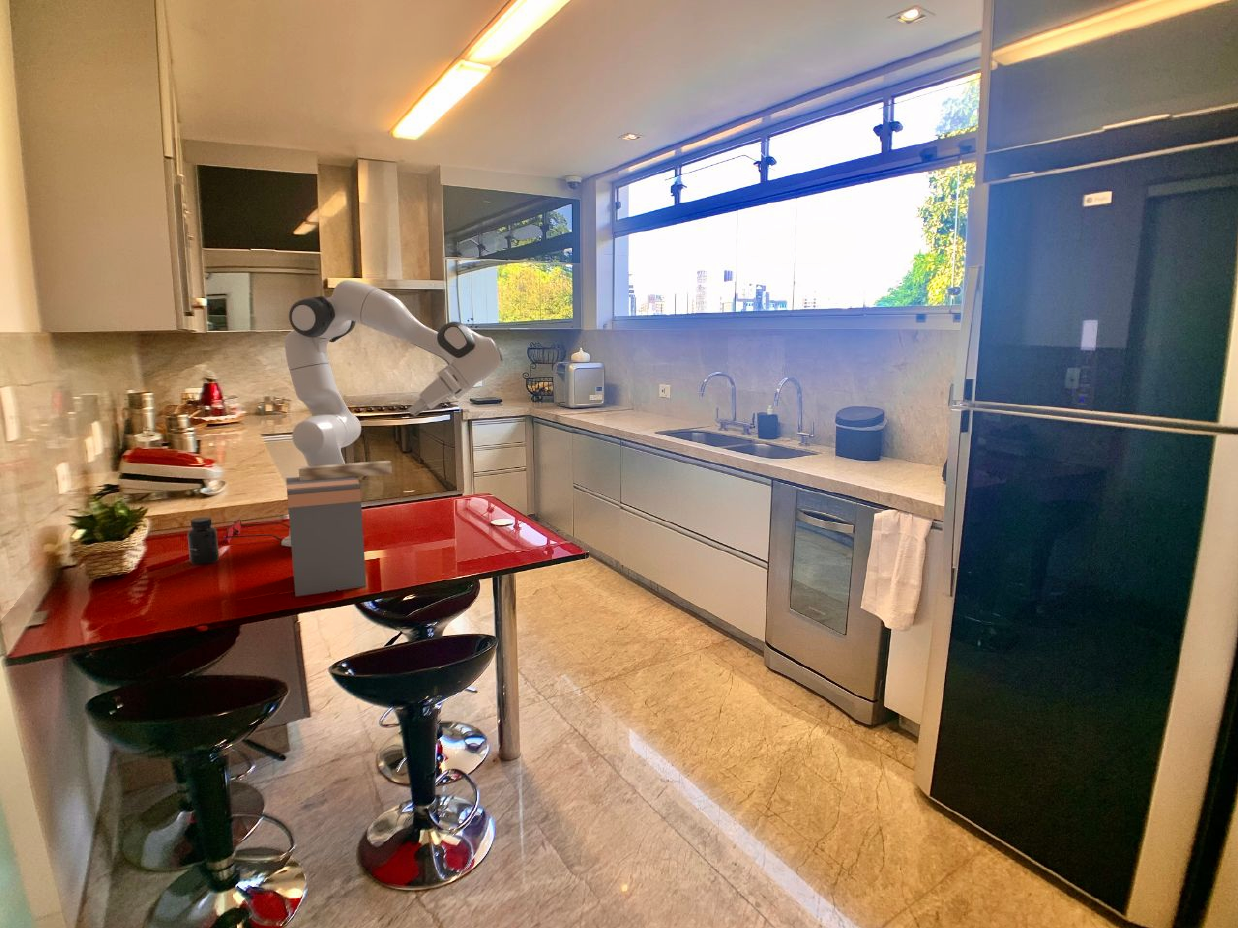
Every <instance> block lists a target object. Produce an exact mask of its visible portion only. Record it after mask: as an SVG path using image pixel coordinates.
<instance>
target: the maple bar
mask: <svg viewBox="0 0 1238 928" xmlns="http://www.w3.org/2000/svg"><path fill="white" fill-rule="evenodd" d="M392 467H393V466H392V461H391V460H380V461H365V462H352V463H351V462H350V463H345V464H333V465H318V466H308V465H303V466H298V477H299V479H300V481H303V480H316V479H330V478H343V477H356V478H357V477H366V476H367V477H368V476H369V477H370V476H379V475H380V476H381V475H392V474H393V468H392Z"/></svg>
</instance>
